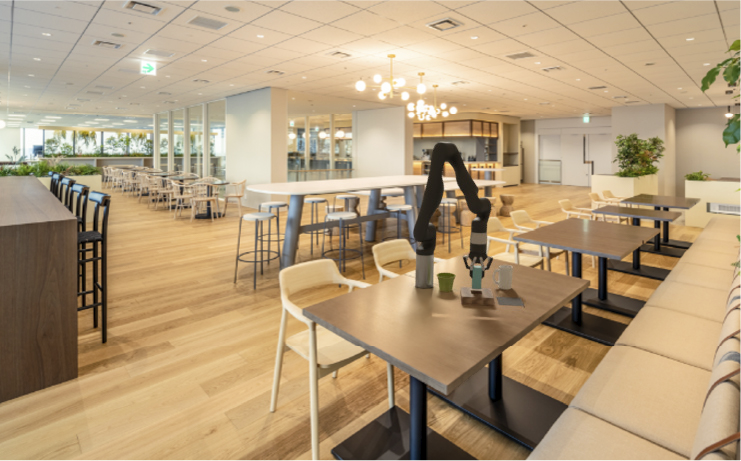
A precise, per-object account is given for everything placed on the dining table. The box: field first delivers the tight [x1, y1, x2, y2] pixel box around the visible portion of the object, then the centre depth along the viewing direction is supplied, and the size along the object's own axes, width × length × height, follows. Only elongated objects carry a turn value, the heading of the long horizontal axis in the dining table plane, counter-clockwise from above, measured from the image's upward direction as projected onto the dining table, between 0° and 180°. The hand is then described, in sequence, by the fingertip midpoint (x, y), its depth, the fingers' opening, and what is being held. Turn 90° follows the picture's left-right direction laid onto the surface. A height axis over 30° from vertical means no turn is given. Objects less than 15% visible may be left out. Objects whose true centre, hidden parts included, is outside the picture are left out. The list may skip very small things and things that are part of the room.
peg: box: [471, 265, 483, 289], centre depth 185 cm, size 4×4×10 cm
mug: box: [492, 264, 514, 290], centre depth 202 cm, size 10×7×12 cm, turn 96°
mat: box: [495, 296, 525, 309], centre depth 184 cm, size 11×11×1 cm
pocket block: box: [459, 286, 495, 307], centre depth 186 cm, size 14×14×4 cm
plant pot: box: [436, 272, 456, 293], centre depth 200 cm, size 9×9×9 cm
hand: (476, 277), depth 185 cm, fingers closed on peg, 4 cm apart
